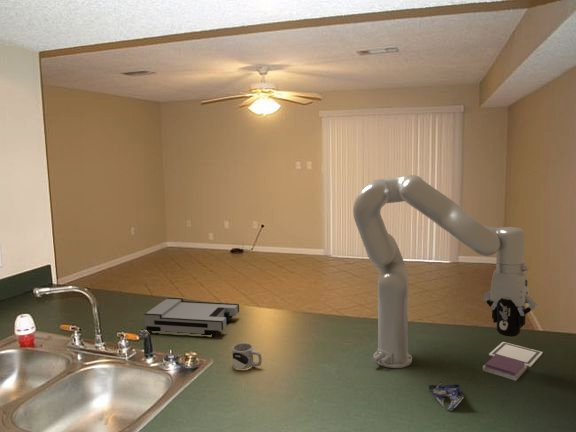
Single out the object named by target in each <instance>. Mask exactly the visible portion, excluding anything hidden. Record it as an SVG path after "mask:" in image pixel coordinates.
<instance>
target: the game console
mask: <svg viewBox="0 0 576 432" xmlns="http://www.w3.org/2000/svg"><path fill="white" fill-rule="evenodd" d="M239 312H240V304H239V303H228V302H227V303H224V302H209V301H208V302H207V301H206V302H205V301H203V302H202V301H190V300H188V301H187V300H186V301H185V300H184V298H183V297H180V298H177V297H167V298H166V299H164V300H163V301H161V302H160V303H158V304H157V305H156V306H154V307H152V308H151V309H150V310H149V311H147V312H145V313H144V314H143V325H144V327H146V330H147V331H150V332H151V331H165V332H177V333H190V334H201V335H211V334H213V335H218V333H219V332H220V331H223V330H224V329H225V328H226V326H227V322H229V321H231V319H232V318H233V317H235V316H237V315H238V313H239Z"/></svg>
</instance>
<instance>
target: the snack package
mask: <svg viewBox="0 0 576 432" xmlns="http://www.w3.org/2000/svg"><path fill="white" fill-rule="evenodd" d="M443 383H444V382H443V381H439V382H437V384H435V385H434V384H429V385H428V390H429V391H431V392H432V394H433V395H434V398H436V400H437V402H439V404H440V405H441V406H442V408H444V409H446V410H448V411H449V412H452V411H454V409H455V408H456V407H457V406H458V405H459V404H460V403H461V402H462V400H463V399H464V398H466V397H465V396H466V393H464V392H463V390H462V386H460V385H459V384H447V385H444V384H443ZM445 397H448V398H449V399H450V403H449V405H448V408H446V407H445V406H444V402H445Z"/></svg>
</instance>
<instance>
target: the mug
mask: <svg viewBox="0 0 576 432" xmlns="http://www.w3.org/2000/svg"><path fill="white" fill-rule="evenodd" d="M231 349H232V367H233V366H234V367H235V368H238V369H246V368H249V367H251V366H252V367H253V368H254V367H261V366H262V362H263V360H262V353H261V352H259V351H257V350H255V349H254V347H253V345H252V344H251V343H248V342H240V343H236V344H234V345H233V346H232V348H231ZM254 355H255V356H257V357H258V361H257V362H256V361H254Z"/></svg>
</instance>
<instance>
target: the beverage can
mask: <svg viewBox="0 0 576 432" xmlns="http://www.w3.org/2000/svg"><path fill="white" fill-rule="evenodd" d="M518 315H520V313H519V311H518V309H517V306H515V303H514V302H513V301H512V299H507V298H503V297H501V299H500V300H499V301H498V303H497V322H496V331H497V332H498V334H500V335H501V336H505V337H516V336H518V335H520V333H521V328H518Z"/></svg>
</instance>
